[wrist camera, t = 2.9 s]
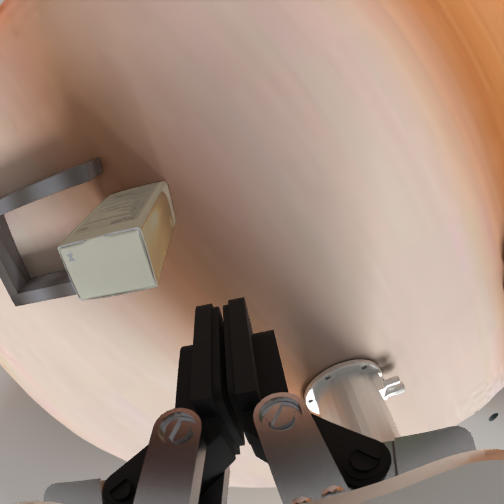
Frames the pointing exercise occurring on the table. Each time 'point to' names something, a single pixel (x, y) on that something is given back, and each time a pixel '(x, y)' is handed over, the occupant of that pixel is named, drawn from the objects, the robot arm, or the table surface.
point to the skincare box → (120, 243)
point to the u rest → (4, 249)
